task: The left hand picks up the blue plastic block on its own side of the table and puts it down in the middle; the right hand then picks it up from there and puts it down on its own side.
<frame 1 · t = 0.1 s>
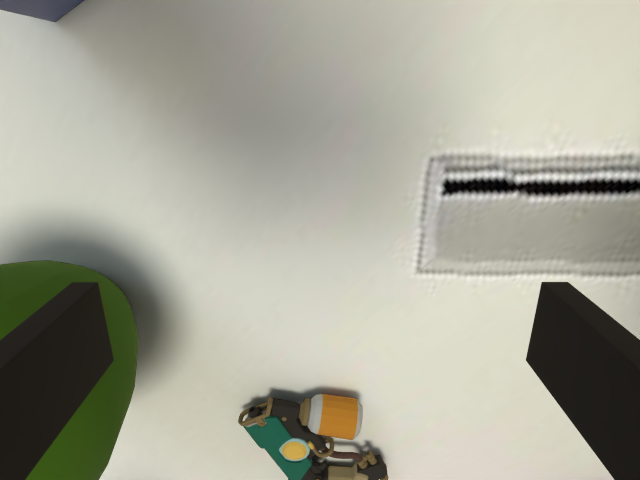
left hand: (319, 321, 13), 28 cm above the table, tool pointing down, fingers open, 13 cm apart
vase: (88, 304, 44), on the table
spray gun: (316, 437, 50), on the table
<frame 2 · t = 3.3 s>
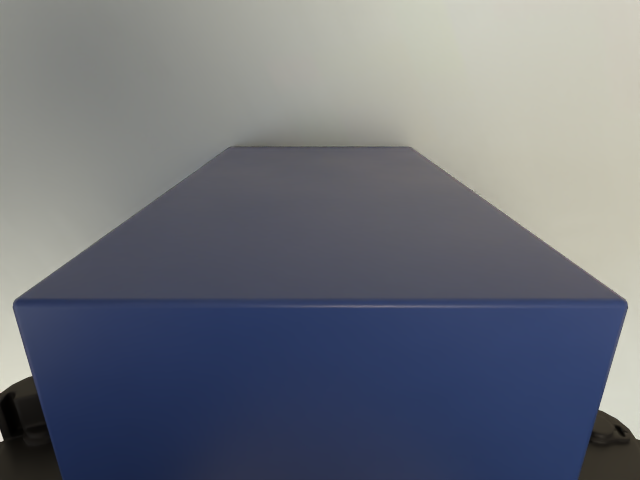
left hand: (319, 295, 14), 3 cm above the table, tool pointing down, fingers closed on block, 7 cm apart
block: (320, 259, 17), on the table, touching left hand
when the left hand's fingers open (5 cm above the table, at t = 9.4 s): block drops 1 cm, on the table.
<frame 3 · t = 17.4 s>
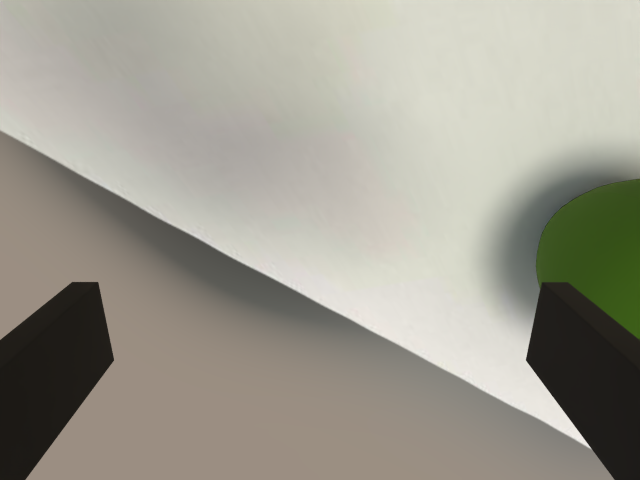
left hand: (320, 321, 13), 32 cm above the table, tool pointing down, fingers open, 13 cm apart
vase: (580, 235, 46), on the table
when the right hand's fingers open (5 cm above the table, at t = 28.2 s): block drops 1 cm, on the table.
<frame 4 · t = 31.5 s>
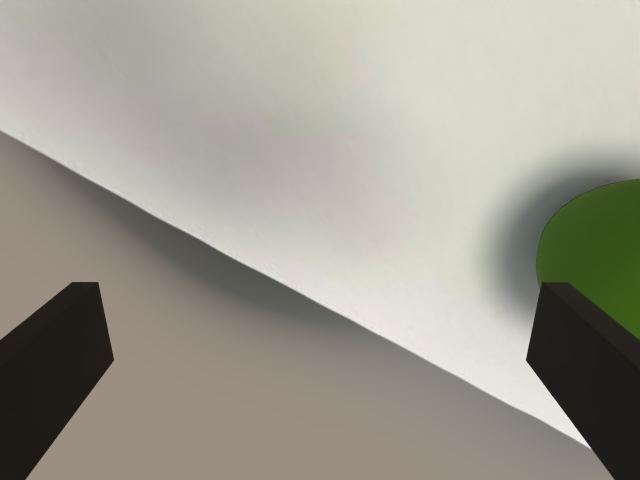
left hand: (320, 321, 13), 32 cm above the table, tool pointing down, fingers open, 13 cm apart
vase: (580, 235, 46), on the table
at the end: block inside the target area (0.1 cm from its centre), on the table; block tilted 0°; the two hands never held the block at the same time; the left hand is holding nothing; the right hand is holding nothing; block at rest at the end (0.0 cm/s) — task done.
